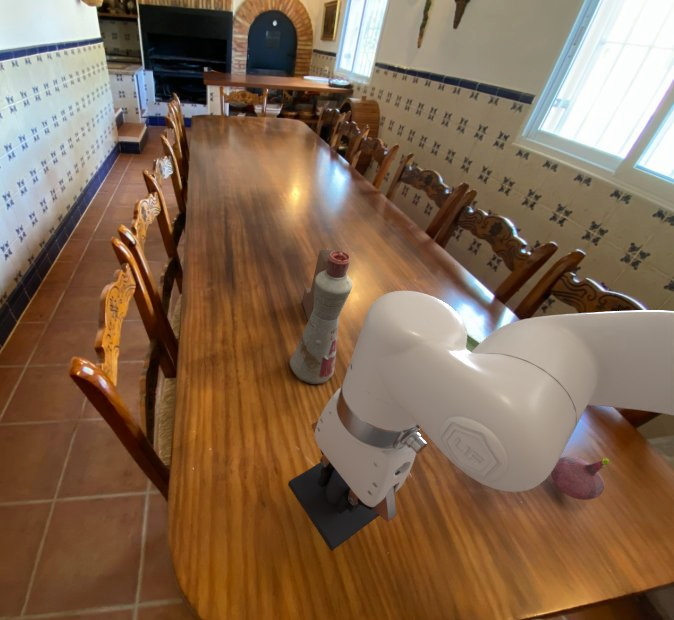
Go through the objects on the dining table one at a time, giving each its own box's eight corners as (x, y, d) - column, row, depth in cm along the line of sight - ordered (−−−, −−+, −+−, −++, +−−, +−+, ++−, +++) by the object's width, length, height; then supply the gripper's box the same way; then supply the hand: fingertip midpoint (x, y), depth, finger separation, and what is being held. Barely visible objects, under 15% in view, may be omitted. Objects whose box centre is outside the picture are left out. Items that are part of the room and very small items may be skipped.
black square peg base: (383, 512, 46) (398, 490, 43) (331, 551, 43) (342, 531, 39) (337, 455, 52) (347, 431, 48) (287, 485, 49) (293, 462, 45)
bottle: (289, 351, 77) (312, 235, 59) (331, 356, 77) (367, 241, 59) (288, 383, 71) (314, 263, 53) (334, 389, 70) (376, 270, 52)
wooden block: (301, 301, 91) (314, 238, 79) (318, 301, 91) (334, 239, 80) (308, 325, 84) (324, 260, 73) (327, 325, 85) (345, 261, 73)
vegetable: (569, 515, 55) (617, 486, 48) (530, 478, 59) (569, 447, 52) (591, 499, 57) (639, 469, 50) (552, 464, 61) (592, 432, 55)
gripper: (476, 460, 31) (406, 538, 43) (347, 343, 42) (319, 431, 53) (420, 504, 28) (361, 576, 40) (296, 365, 39) (278, 454, 50)
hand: (337, 492), depth 46 cm, fingers closed on black square peg base, 3 cm apart
